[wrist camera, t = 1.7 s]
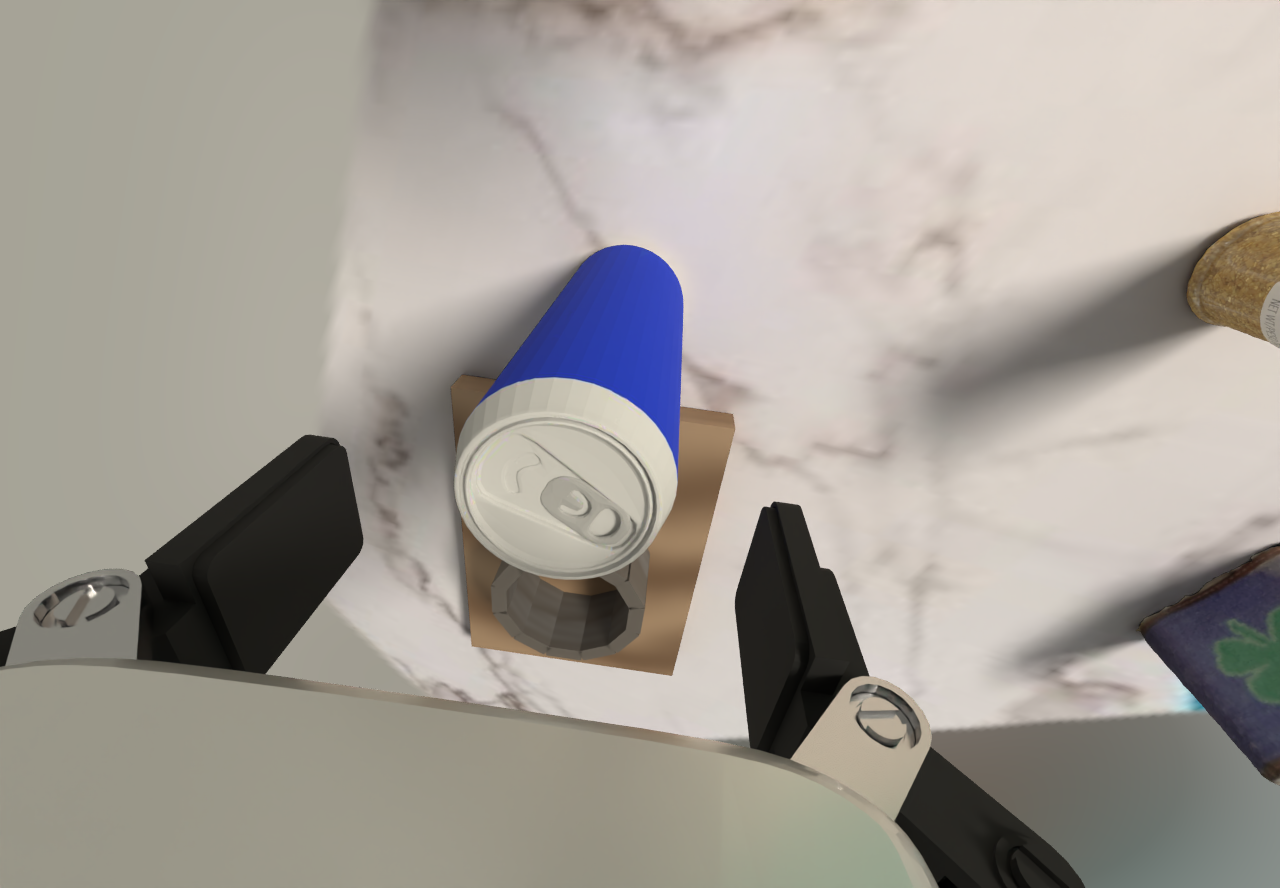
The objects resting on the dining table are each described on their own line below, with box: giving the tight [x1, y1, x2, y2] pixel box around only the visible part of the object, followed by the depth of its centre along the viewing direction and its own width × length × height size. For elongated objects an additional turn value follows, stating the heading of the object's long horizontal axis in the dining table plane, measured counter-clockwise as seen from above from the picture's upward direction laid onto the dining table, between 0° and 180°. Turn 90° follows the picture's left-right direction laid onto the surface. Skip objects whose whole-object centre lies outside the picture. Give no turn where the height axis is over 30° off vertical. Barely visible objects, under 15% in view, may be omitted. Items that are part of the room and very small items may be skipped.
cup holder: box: [451, 375, 735, 676], centre depth 30 cm, size 20×14×6 cm
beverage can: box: [454, 245, 683, 580], centre depth 18 cm, size 5×5×15 cm
